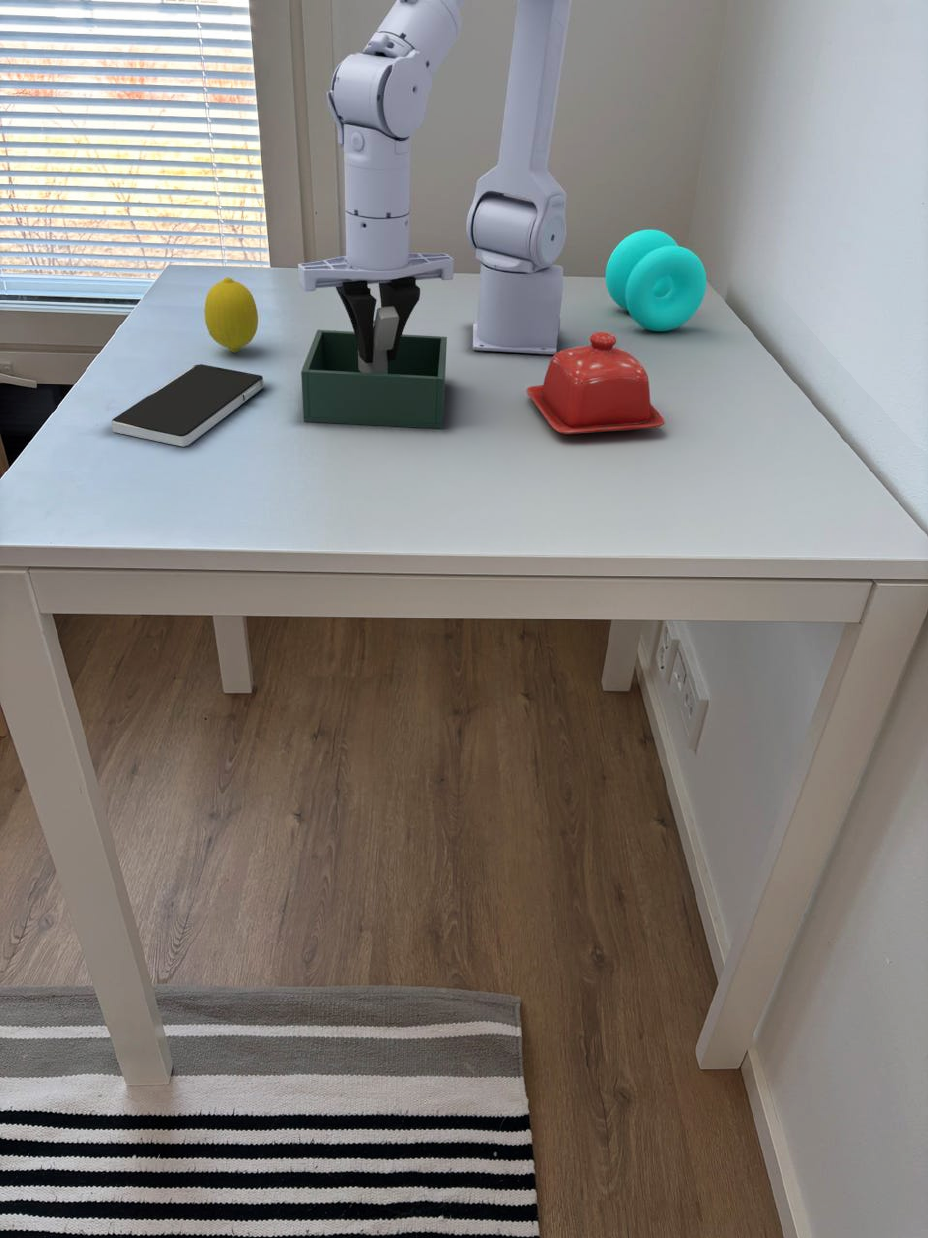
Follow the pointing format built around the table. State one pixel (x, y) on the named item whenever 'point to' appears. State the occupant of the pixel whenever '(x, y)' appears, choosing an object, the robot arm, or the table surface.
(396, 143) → the robot arm
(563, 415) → the butter dish
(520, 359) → the table surface
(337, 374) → the bin
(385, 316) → the grey stepped block
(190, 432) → the smartphone
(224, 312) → the lemon
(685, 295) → the turquoise yoyo
